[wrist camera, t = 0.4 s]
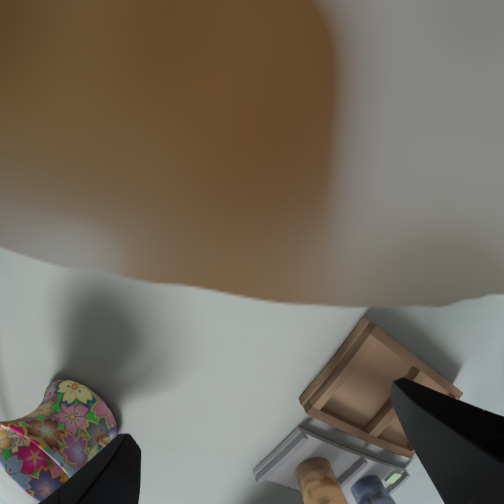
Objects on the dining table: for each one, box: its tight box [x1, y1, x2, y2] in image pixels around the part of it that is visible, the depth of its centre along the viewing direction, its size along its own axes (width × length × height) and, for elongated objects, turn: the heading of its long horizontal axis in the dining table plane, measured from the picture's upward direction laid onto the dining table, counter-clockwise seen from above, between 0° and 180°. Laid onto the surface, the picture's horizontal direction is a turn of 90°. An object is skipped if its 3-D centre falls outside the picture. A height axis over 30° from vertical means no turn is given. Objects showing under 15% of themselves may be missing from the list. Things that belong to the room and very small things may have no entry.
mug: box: [0, 380, 117, 502], centre depth 17 cm, size 12×9×11 cm
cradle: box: [253, 427, 410, 504], centre depth 23 cm, size 7×18×2 cm, turn 54°
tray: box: [299, 317, 463, 458], centre depth 23 cm, size 9×16×2 cm, turn 54°
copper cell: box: [295, 457, 348, 504], centre depth 20 cm, size 4×4×7 cm
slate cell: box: [351, 475, 396, 504], centre depth 20 cm, size 4×4×7 cm
